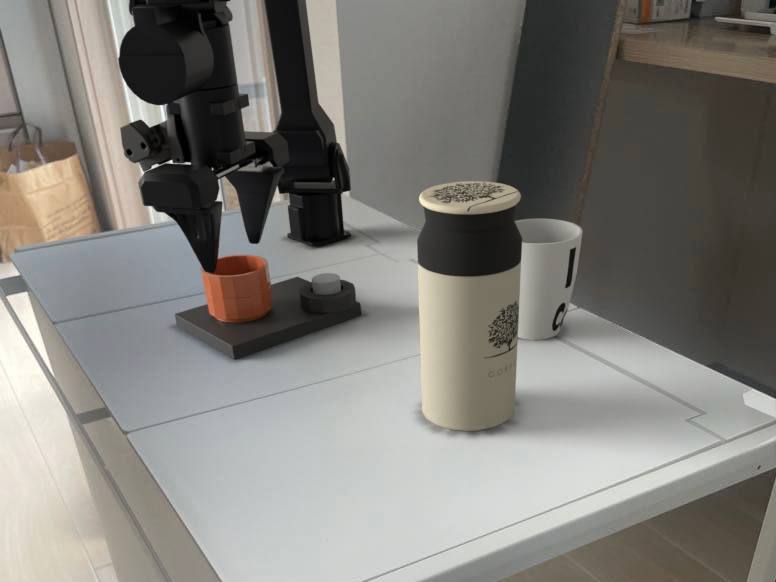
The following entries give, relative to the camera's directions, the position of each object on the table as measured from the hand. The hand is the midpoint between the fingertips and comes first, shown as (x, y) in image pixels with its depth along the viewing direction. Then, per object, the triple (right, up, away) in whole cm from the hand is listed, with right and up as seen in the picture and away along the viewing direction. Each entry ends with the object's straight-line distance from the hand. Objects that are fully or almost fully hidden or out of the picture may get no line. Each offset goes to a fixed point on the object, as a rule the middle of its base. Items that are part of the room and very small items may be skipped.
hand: (233, 257), depth 86 cm
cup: (+31, -8, +1) cm, 32 cm away
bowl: (0, -5, +4) cm, 6 cm away
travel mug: (+23, -18, -13) cm, 32 cm away
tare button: (+9, -2, +4) cm, 10 cm away
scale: (+3, -5, +5) cm, 8 cm away
